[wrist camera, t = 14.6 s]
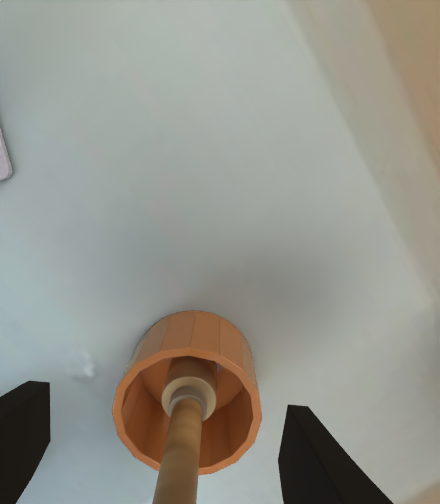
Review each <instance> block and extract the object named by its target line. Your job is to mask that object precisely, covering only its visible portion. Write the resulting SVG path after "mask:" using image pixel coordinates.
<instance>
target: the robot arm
mask: <svg viewBox="0 0 440 504" xmlns="http://www.w3.org/2000/svg"><path fill="white" fill-rule="evenodd" d="M11 176H12V167H11V163H10V160H9V156H8V153H7V149H6V146H5V142H4V138H3V135H2V131H1V128H0V181H1V180H7V179H9V178H10V177H11ZM49 442H50V383H48V382H38V381H28V382H26V383H24V384H22V385H20V386H18V387H17V388H15V389H13V390H11V391H10V392H8V393H6V394H5V395H3V396H1V397H0V504H16V502H17V500H18V499H19V497H20V496H21V494H22V493H23V491H24V489H25V488H26V486H27V485H28V483H29V481H30V480H31V478H32V476H33V474H34V472H35V470H36V469H37V467H38V465H39V463H40V461H41V459H42V457H43V455H44V453H45V450H46V448H47V446H48V444H49ZM278 464H279V473H280V481H281V488H282V496H283V501H284V504H393V503H392V502H391V501H390V500H389V498H388V497H387V496H386V495H385V494H384V493H383V492H382V491H381V490H380V489H379V488H378V487H377V486H376V485H375V484H374V483H373V482H372V481H371V480H370V479H369V478H368V476H367V475H366V474H365V473H364V472H363V471H362V470H361V469H360V468H359V467H358V465H357V464H356V463H355V462H354V461H353V460H352V459H351V457H350V456H349V455H348V454H347V453H346V452H345V451H344V449H343V448H342V447H341V446H340V445H339V443H338V442H337V441H336V440H335V439H334V438H333V436H332V435H331V434H330V433H329V431H328V430H327V429H326V428H325V427H324V425H323V424H322V423H321V422H320V421H319V419H318V418H317V417H316V416H315V414H314V413H313V412H312V411H311V410H310V408H309V407H308V406H297V405H288V408H287V413H286V419H285V424H284V430H283V435H282V441H281V447H280V452H279V458H278Z"/></svg>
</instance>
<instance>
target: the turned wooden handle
mask: <svg viewBox="0 0 440 504" xmlns="http://www.w3.org/2000/svg"><path fill="white" fill-rule="evenodd" d="M161 401H162V406H163V409H164V411H165V412H166V414H167V415H168V416H169V417H170V422H169V426H168V431H167V436H166V441H165V446H164V450H163V455H162V460H161V465H160V470H159V474H158V479H157V484H156V489H155V494H154V498H153V503H152V504H196V498H197V485H198V471H199V458H200V444H201V431H202V422H203V421H204V420H206V419H207V418H209V417H210V416H211V414H212V413H213V411H214V410H215V407H216V402H217V366H216V363H215V361H211V360H207V359H203V358H198V357H194V356H190V355H189V356H181V357H173V359H172V361H171V363H170V366H169V370H168V374H167V378H166V381H165V385H164V389H163V392H162V397H161Z"/></svg>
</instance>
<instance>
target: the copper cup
mask: <svg viewBox="0 0 440 504" xmlns="http://www.w3.org/2000/svg"><path fill="white" fill-rule="evenodd" d="M189 355H190V356H194V357H198V358H203V359H207V360H211V361H215V363H216V366H217V402H216V407H215V410H214V411H213V413H212V414H211V416H210V417H209V418H207V419H206V420H204V421H203V422H202V431H201V444H200V458H199V471H198V475H204V474H212V473H215V472H217V471H219V470H221V469H223V468H225V467H227V466H229V465H231V464H233V463H235V462H236V461H238V460H239V459H240V458H241V457H242V455H243V454H244V453H245V452H246V451H247V450H248V449H249V448H250V447H251V446H252V445H253V443H254V442H255V439H256V436H257V433H258V430H259V427H260V424H261V421H262V413H261V405H260V398H259V391H258V386H257V380H256V375H255V369H254V363H253V358H252V352H251V350H250V348H249V345H248V343H247V341H246V339H245V337H244V336H243V335H242V333H241V332H240V331H239V330H238V329H237V328H236V327H235V326H234V325H233V324H231V323H230V322H229V321H227V320H225V319H224V318H222V317H220V316H217V315H215V314H212V313H208V312H203V311H183V312H178V313H175V314H172V315H169V316H167V317H165V318H163V319H161V320H160V321H158V322H156V323H155V324H154V325H153V326H152V327H151V328H150V329H149V330H148V331H147V332H146V333H145V335H144V337H143V338H142V340H141V341H140V343H139V344H138V345H137V348H136V350H135V352H134V354H133V356H132V358H131V360H130V362H129V364H128V366H127V368H126V370H125V372H124V374H123V376H122V378H121V380H120V382H119V384H118V386H117V389H116V394H115V399H114V404H113V409H112V414H113V418H114V422H115V426H116V430H117V434H118V436H119V438H120V439H121V441H122V442H123V443H124V445H125V446H126V447H127V448H128V450H129V451H130V452H131V453H132V455H133V456H134V457H135V458H137V459H138V460H140V461H142V462H143V463H145V464H147V465H148V466H150V467H152V468H153V469H155V470H157V471H159V470H160V465H161V460H162V455H163V450H164V446H165V441H166V436H167V431H168V426H169V422H170V417H169V416H168V415H167V414H166V412H165V411H164V409H163V406H162V401H161V397H162V392H163V389H164V385H165V381H166V378H167V374H168V370H169V366H170V363H171V361H172V359H173V357H181V356H189Z"/></svg>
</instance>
